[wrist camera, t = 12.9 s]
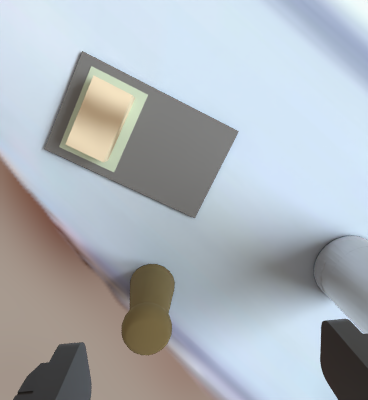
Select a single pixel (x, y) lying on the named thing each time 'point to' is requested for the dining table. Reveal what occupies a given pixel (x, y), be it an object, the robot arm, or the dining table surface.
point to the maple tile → (100, 119)
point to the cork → (149, 310)
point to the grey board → (148, 140)
